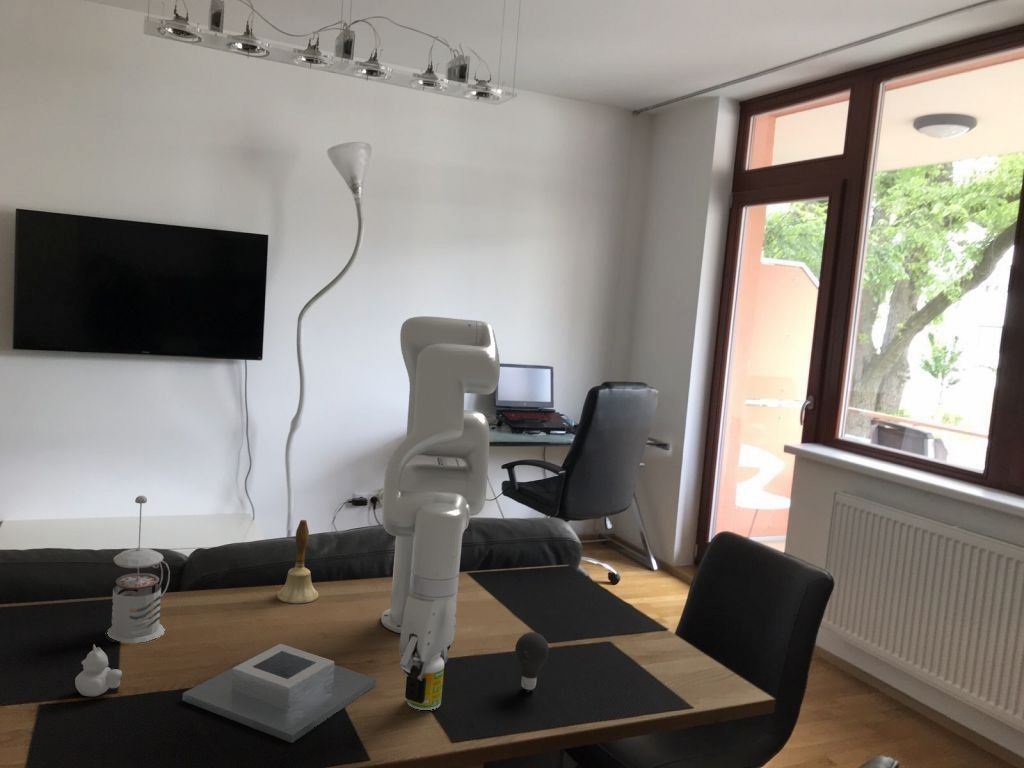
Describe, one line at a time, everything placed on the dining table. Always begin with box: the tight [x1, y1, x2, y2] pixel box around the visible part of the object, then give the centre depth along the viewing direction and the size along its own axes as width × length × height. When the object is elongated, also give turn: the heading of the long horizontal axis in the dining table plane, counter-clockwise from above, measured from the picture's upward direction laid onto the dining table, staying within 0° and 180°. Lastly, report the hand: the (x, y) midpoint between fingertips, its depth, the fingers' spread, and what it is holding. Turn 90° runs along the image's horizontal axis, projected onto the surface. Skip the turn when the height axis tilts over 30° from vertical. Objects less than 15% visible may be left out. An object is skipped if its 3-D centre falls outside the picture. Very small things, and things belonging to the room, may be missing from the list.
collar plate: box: [182, 643, 377, 744], centre depth 134 cm, size 21×21×5 cm
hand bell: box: [276, 519, 319, 604], centre depth 173 cm, size 8×8×16 cm
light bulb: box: [514, 631, 550, 691], centre depth 142 cm, size 6×6×10 cm
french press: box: [106, 495, 171, 643], centre depth 150 cm, size 10×12×25 cm
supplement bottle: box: [406, 652, 445, 711], centre depth 134 cm, size 5×5×10 cm
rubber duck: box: [74, 644, 123, 697], centre depth 128 cm, size 5×7×8 cm
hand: (424, 691), depth 134 cm, fingers closed on supplement bottle, 5 cm apart
